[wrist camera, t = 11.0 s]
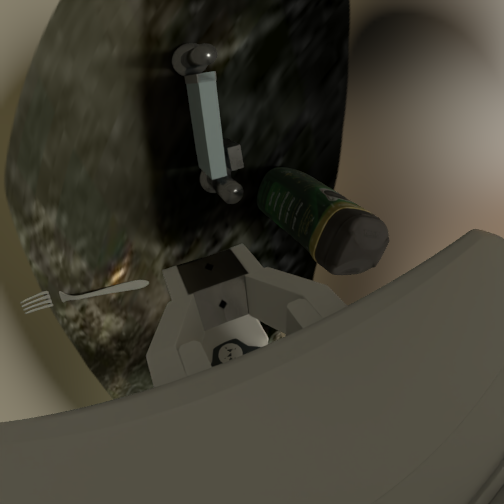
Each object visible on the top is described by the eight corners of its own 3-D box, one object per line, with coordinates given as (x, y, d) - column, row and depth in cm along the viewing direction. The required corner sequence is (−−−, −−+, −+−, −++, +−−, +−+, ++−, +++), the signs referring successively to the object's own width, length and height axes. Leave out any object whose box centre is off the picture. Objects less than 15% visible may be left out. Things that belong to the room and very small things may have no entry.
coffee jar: (248, 210, 43) (324, 285, 29) (264, 160, 39) (356, 217, 26) (298, 217, 48) (375, 282, 34) (314, 173, 44) (403, 227, 31)
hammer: (236, 184, 39) (257, 202, 35) (203, 196, 38) (219, 216, 33) (227, 138, 35) (248, 149, 30) (191, 149, 34) (206, 162, 29)
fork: (165, 286, 44) (167, 293, 42) (27, 308, 33) (25, 316, 32) (163, 270, 42) (166, 277, 41) (20, 293, 32) (18, 300, 30)
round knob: (210, 72, 29) (229, 69, 24) (175, 80, 28) (188, 78, 23) (204, 40, 26) (223, 31, 22) (168, 47, 25) (179, 39, 20)
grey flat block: (184, 76, 28) (196, 73, 24) (200, 73, 28) (215, 71, 24) (198, 166, 35) (211, 180, 31) (212, 163, 36) (227, 175, 31)
